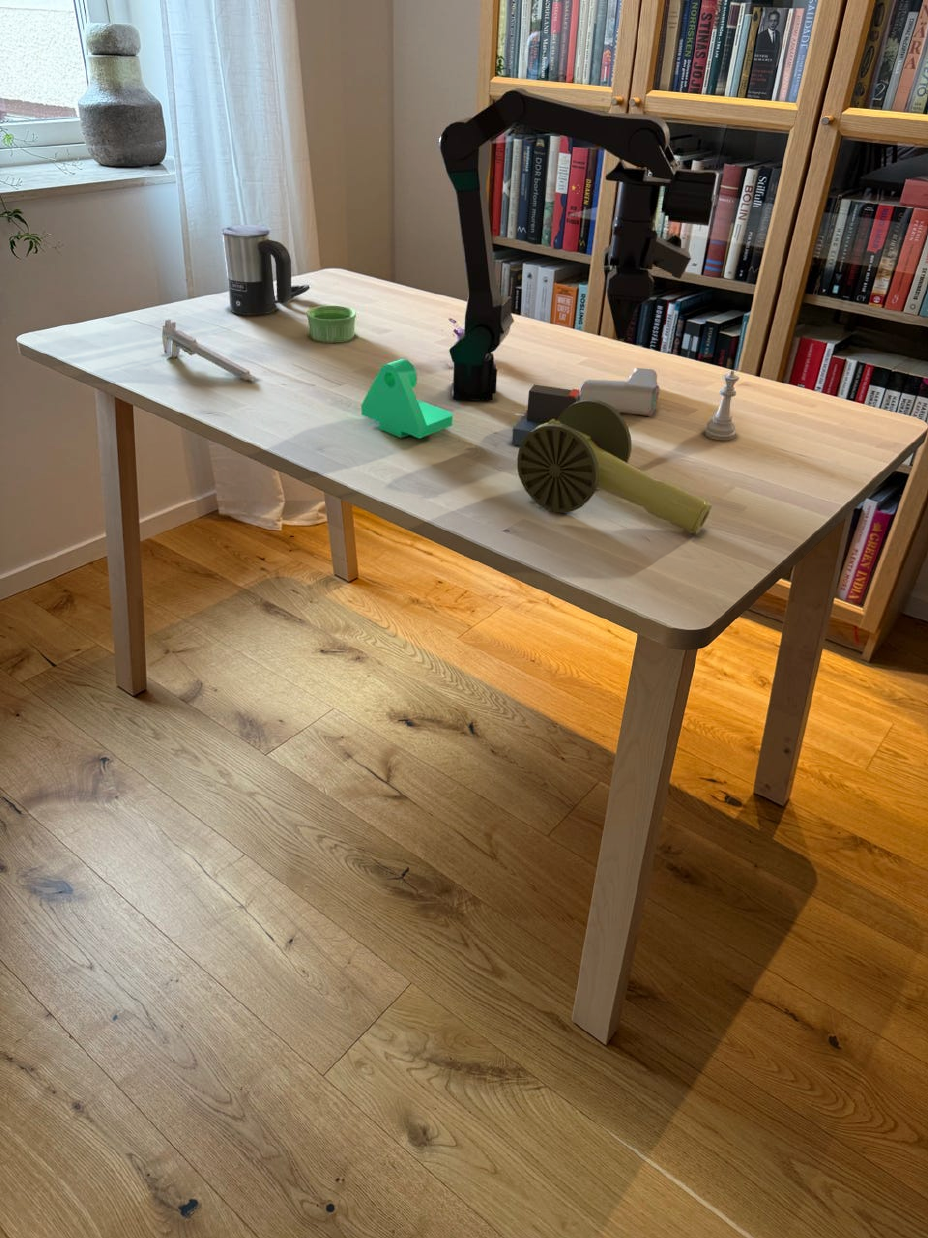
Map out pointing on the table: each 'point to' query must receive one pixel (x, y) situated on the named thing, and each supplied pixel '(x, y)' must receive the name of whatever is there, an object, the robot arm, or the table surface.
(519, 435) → the base
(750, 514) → the table surface
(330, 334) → the ramekin
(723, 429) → the chess piece
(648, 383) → the infrared thermometer
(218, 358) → the caliper
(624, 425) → the cannon
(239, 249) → the milk frother
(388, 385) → the camera mount
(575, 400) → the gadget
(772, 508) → the table surface
